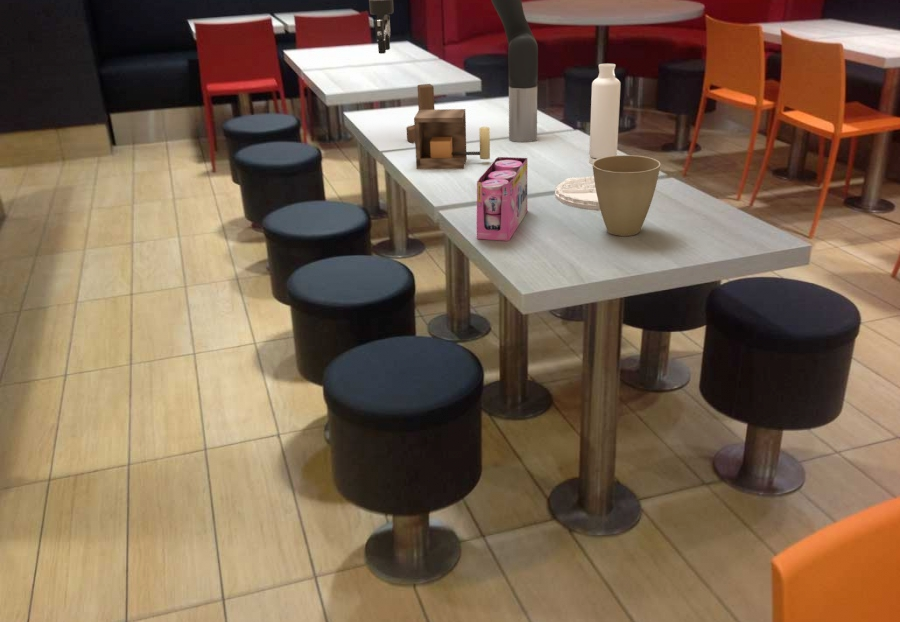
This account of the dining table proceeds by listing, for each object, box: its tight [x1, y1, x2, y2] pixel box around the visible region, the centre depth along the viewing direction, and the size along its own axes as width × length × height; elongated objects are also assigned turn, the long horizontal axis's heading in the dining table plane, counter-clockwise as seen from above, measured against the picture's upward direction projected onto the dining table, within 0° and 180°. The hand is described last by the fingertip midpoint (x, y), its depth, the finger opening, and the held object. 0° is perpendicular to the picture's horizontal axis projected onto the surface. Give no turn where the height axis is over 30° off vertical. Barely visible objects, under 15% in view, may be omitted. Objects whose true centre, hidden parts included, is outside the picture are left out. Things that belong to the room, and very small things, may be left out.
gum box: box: [476, 156, 528, 242], centre depth 196 cm, size 24×8×14 cm, turn 165°
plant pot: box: [591, 154, 661, 237], centre depth 189 cm, size 15×15×16 cm
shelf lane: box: [413, 108, 468, 170], centre depth 249 cm, size 14×12×15 cm
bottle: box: [588, 63, 622, 165], centre depth 242 cm, size 8×8×28 cm
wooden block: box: [405, 83, 435, 144], centre depth 277 cm, size 9×4×18 cm, turn 106°
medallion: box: [554, 175, 601, 211], centre depth 219 cm, size 24×27×2 cm
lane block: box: [430, 126, 491, 160], centre depth 249 cm, size 18×6×9 cm, turn 85°
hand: (384, 51), depth 269 cm, fingers open, 8 cm apart
